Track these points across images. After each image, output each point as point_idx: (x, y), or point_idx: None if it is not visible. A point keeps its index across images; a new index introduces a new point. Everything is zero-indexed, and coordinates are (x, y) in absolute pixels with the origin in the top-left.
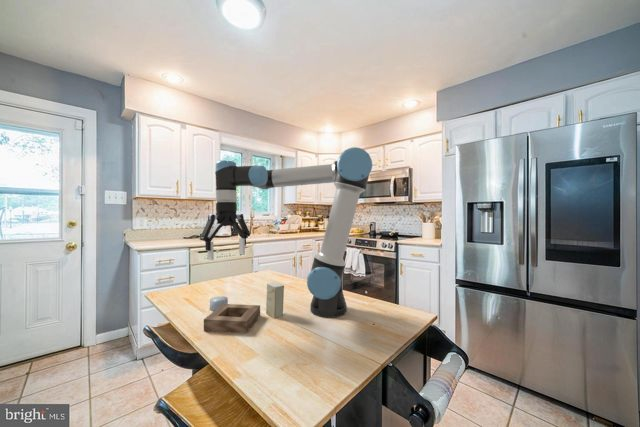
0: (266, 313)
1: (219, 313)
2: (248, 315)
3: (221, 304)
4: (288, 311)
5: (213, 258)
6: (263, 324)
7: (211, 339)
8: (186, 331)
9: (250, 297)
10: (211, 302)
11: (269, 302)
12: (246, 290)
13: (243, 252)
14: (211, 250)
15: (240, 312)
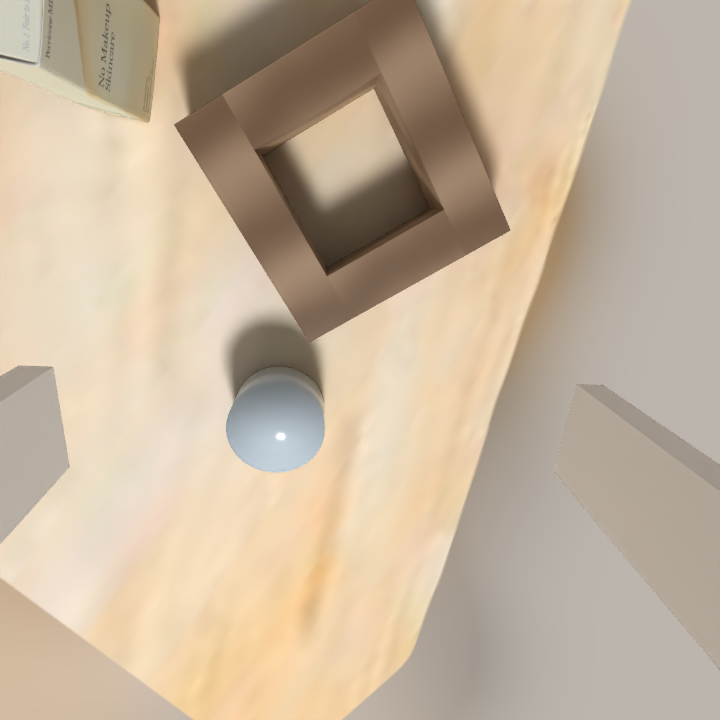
0: (149, 116)
1: (414, 232)
2: (336, 49)
3: (290, 380)
4: None
5: (587, 389)
6: (261, 11)
7: (526, 114)
8: (528, 287)
9: None
10: (324, 425)
11: (119, 55)
12: None
13: (26, 380)
14: (703, 457)
15: (287, 204)
